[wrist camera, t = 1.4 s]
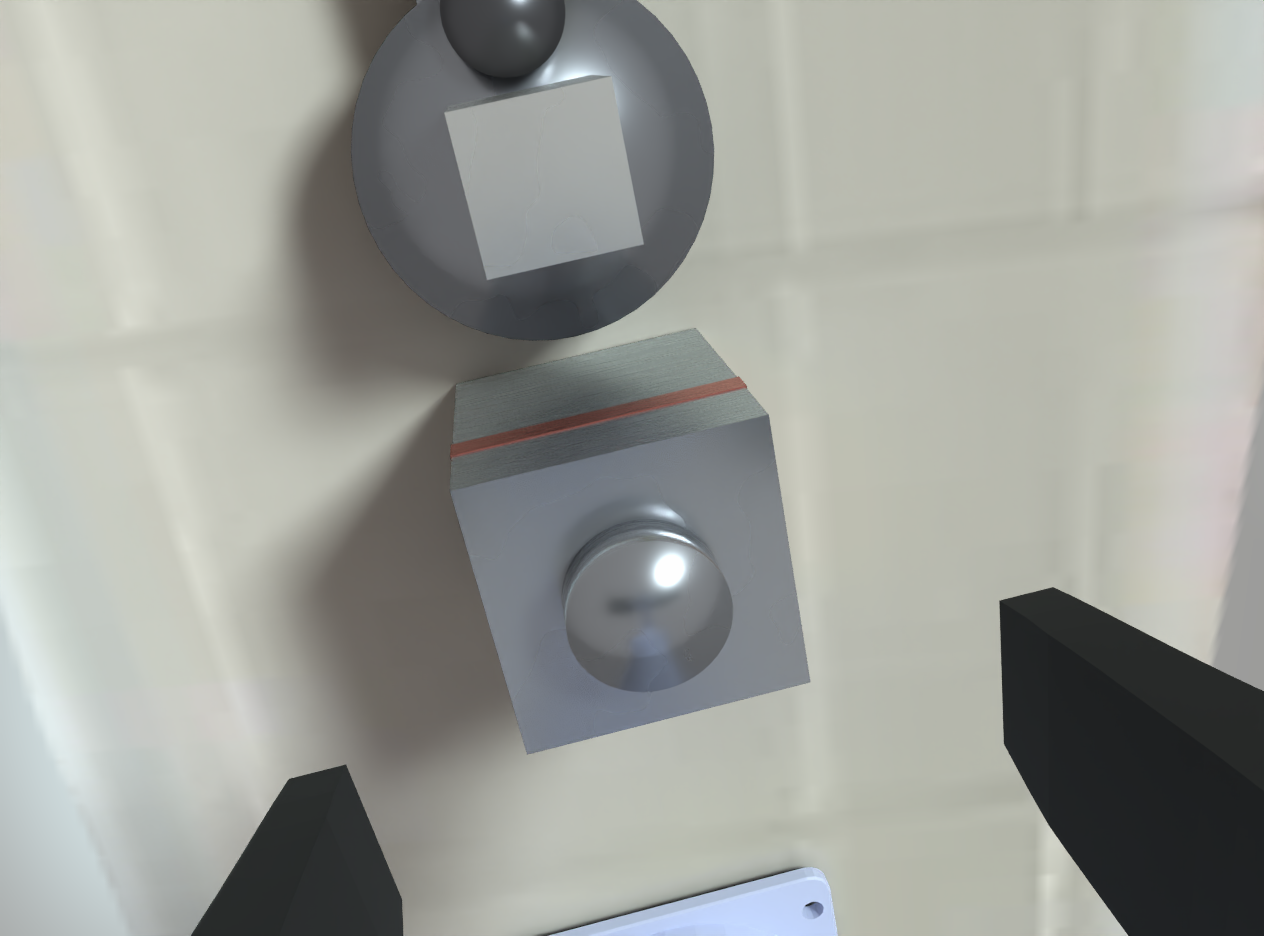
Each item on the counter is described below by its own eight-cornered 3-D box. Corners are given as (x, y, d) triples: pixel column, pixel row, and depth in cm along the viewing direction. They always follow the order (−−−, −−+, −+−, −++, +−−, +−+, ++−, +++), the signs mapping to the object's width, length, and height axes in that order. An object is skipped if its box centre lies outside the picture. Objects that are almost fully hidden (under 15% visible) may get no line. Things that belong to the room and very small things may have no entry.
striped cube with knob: (735, 543, 21) (828, 712, 16) (514, 597, 21) (528, 789, 15) (696, 326, 19) (785, 431, 14) (454, 383, 19) (446, 512, 14)
